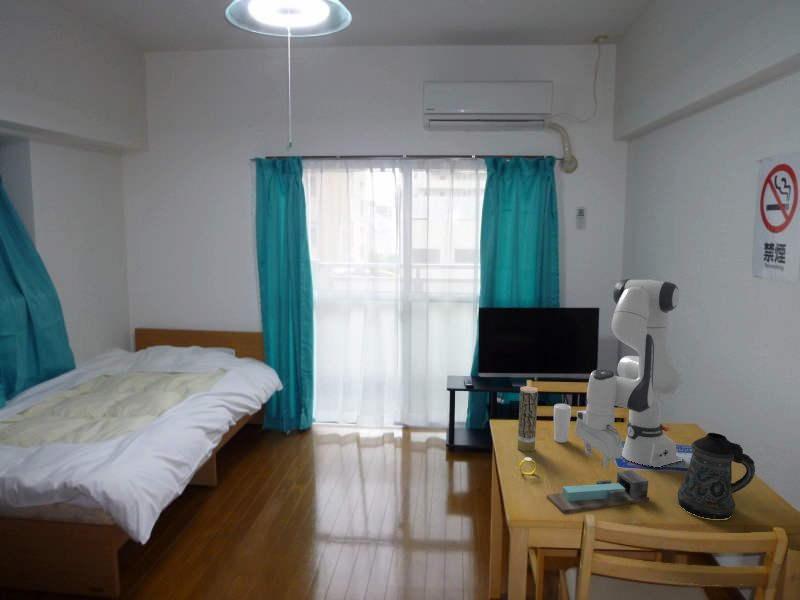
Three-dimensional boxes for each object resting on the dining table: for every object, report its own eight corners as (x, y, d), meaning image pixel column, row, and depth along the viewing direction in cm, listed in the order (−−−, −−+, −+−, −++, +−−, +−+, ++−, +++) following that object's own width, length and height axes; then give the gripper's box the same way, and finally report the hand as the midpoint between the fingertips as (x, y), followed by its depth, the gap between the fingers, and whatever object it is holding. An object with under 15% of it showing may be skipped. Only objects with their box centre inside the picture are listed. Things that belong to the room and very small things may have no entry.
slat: (618, 491, 190) (618, 483, 190) (624, 497, 186) (625, 488, 186) (562, 495, 187) (562, 486, 186) (567, 501, 183) (568, 492, 183)
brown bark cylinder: (534, 453, 222) (538, 392, 218) (517, 451, 223) (520, 390, 219) (534, 446, 228) (537, 386, 224) (517, 444, 229) (520, 385, 226)
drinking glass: (570, 439, 236) (572, 405, 233) (567, 445, 230) (569, 410, 227) (553, 436, 239) (555, 402, 236) (550, 442, 232) (552, 407, 230)
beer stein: (669, 493, 191) (675, 423, 187) (729, 497, 189) (737, 426, 185) (688, 520, 175) (696, 443, 171) (754, 524, 173) (764, 447, 169)
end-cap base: (629, 486, 196) (630, 468, 195) (648, 500, 186) (650, 482, 185) (546, 497, 187) (547, 479, 186) (563, 513, 178) (564, 493, 177)
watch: (520, 476, 202) (520, 461, 202) (518, 473, 205) (518, 457, 204) (537, 475, 202) (536, 460, 201) (535, 472, 205) (535, 456, 204)
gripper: (629, 431, 173) (625, 473, 175) (589, 408, 192) (587, 446, 194) (611, 433, 171) (608, 475, 173) (573, 410, 191) (571, 448, 193)
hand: (596, 460), depth 184 cm, fingers open, 7 cm apart
